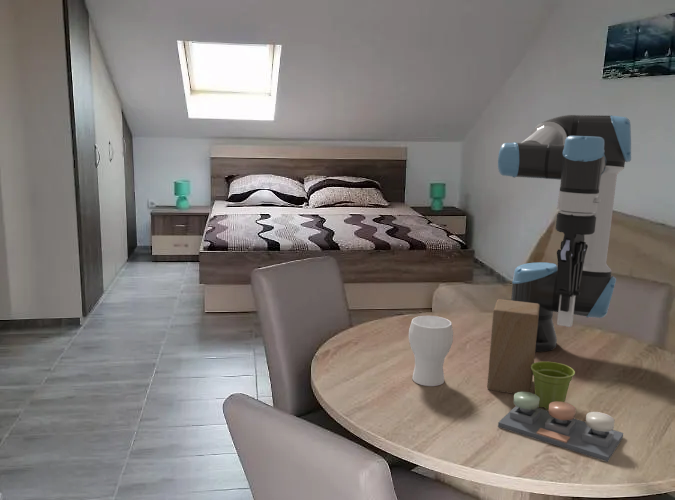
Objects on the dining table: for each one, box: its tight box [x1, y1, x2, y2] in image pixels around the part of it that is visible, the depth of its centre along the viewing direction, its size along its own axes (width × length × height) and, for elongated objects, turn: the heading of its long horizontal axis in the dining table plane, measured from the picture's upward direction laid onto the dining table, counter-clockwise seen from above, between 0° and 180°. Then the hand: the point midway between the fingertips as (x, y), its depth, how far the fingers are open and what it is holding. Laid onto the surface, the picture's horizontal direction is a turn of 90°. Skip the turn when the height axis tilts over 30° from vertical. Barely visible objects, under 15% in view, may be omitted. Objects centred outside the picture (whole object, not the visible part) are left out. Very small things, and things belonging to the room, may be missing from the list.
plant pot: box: [531, 360, 576, 411], centre depth 144 cm, size 9×9×9 cm
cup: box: [408, 315, 454, 387], centre depth 155 cm, size 11×11×15 cm
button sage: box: [513, 392, 540, 413], centre depth 136 cm, size 5×5×3 cm
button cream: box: [585, 411, 615, 435], centre depth 127 cm, size 5×5×3 cm
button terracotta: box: [547, 401, 577, 423], centre depth 131 cm, size 5×5×3 cm
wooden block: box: [486, 298, 540, 394], centre depth 152 cm, size 10×10×20 cm
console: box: [497, 405, 624, 462], centre depth 132 cm, size 22×12×2 cm, turn 54°
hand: (564, 325), depth 133 cm, fingers closed
